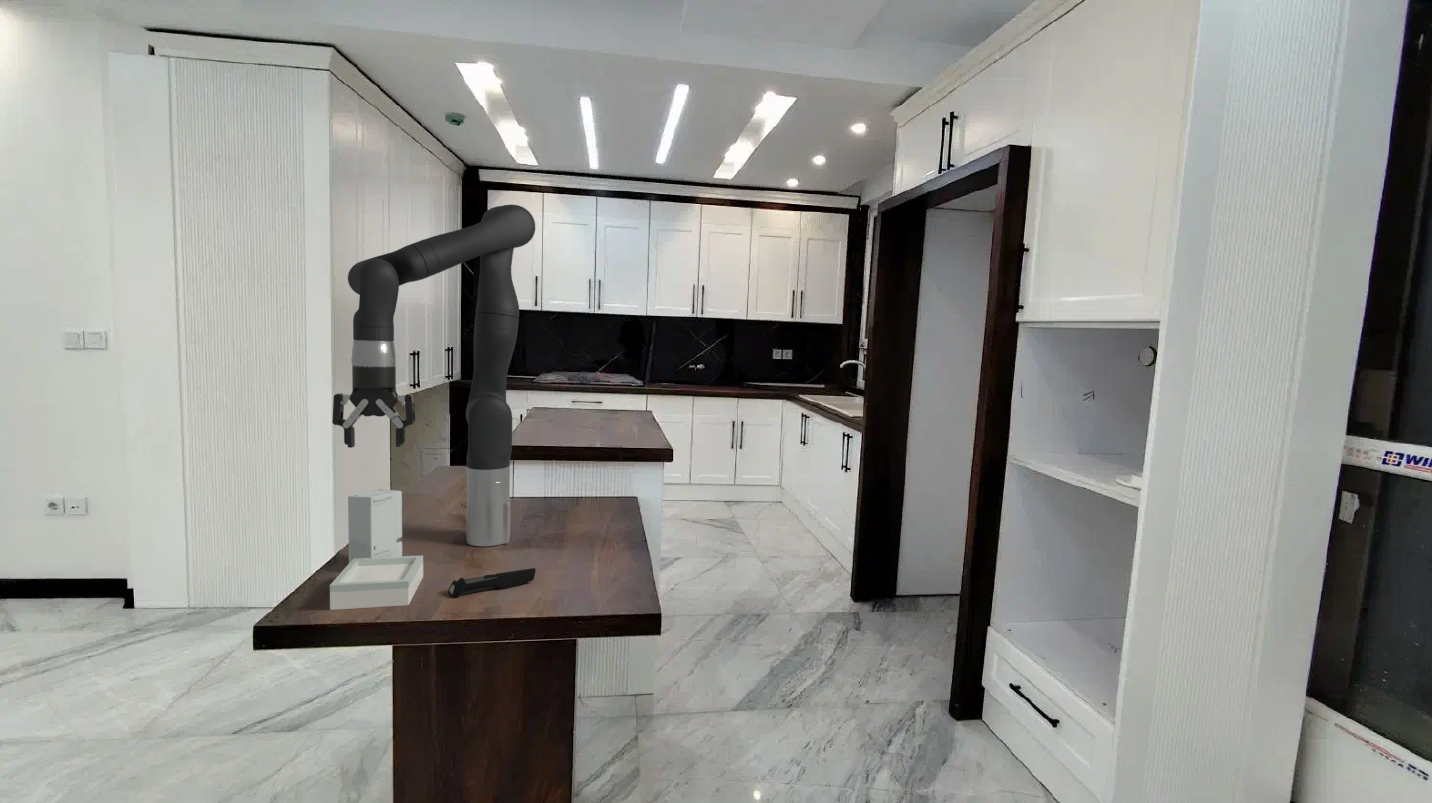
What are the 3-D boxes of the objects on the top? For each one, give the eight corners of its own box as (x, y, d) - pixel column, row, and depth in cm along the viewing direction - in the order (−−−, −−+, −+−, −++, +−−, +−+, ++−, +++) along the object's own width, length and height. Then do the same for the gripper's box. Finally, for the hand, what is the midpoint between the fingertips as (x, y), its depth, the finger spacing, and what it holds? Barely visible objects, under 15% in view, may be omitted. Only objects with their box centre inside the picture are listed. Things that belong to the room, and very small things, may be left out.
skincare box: (371, 574, 126) (370, 498, 125) (346, 570, 128) (345, 495, 127) (404, 561, 134) (403, 489, 133) (380, 557, 136) (379, 486, 135)
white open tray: (423, 576, 126) (423, 555, 126) (408, 605, 112) (408, 581, 112) (353, 580, 123) (353, 558, 123) (330, 610, 109) (329, 585, 109)
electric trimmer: (538, 586, 124) (538, 570, 124) (451, 600, 116) (451, 583, 116) (531, 580, 127) (532, 564, 127) (447, 593, 119) (447, 576, 119)
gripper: (417, 364, 133) (418, 443, 135) (339, 362, 130) (340, 444, 131) (410, 365, 126) (410, 449, 127) (327, 363, 122) (328, 450, 124)
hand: (375, 446), depth 129 cm, fingers open, 8 cm apart
